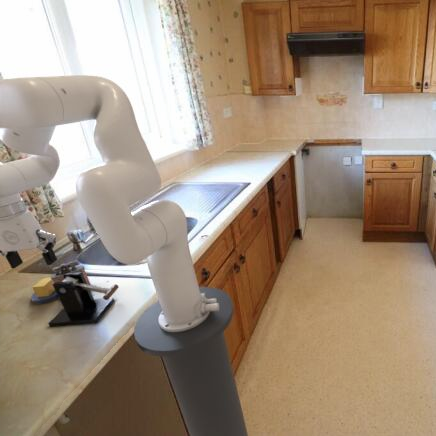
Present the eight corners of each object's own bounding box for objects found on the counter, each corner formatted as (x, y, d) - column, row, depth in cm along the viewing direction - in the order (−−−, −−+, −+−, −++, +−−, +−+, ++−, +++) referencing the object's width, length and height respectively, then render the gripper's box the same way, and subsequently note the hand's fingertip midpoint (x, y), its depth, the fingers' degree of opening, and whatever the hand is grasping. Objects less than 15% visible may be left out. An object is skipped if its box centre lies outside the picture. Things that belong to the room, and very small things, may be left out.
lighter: (60, 300, 94) (46, 271, 90) (60, 296, 97) (46, 267, 93) (93, 289, 99) (81, 261, 95) (92, 285, 101) (80, 257, 97)
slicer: (114, 301, 93) (101, 266, 88) (96, 323, 85) (80, 286, 80) (72, 304, 93) (55, 270, 88) (49, 326, 85) (30, 290, 80)
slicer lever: (118, 290, 90) (119, 283, 89) (108, 302, 85) (109, 295, 84) (70, 280, 87) (70, 273, 86) (57, 292, 83) (57, 284, 82)
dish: (71, 286, 101) (70, 282, 101) (54, 302, 94) (52, 299, 93) (45, 287, 101) (43, 284, 100) (25, 304, 93) (23, 301, 93)
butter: (47, 287, 99) (43, 278, 97) (58, 287, 99) (54, 277, 97) (37, 297, 95) (32, 287, 93) (48, 296, 95) (43, 286, 93)
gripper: (-41, 218, 82) (-8, 274, 89) (29, 212, 82) (57, 268, 89) (-15, 206, 88) (14, 260, 96) (50, 201, 89) (74, 254, 96)
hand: (35, 264), depth 92 cm, fingers open, 9 cm apart
